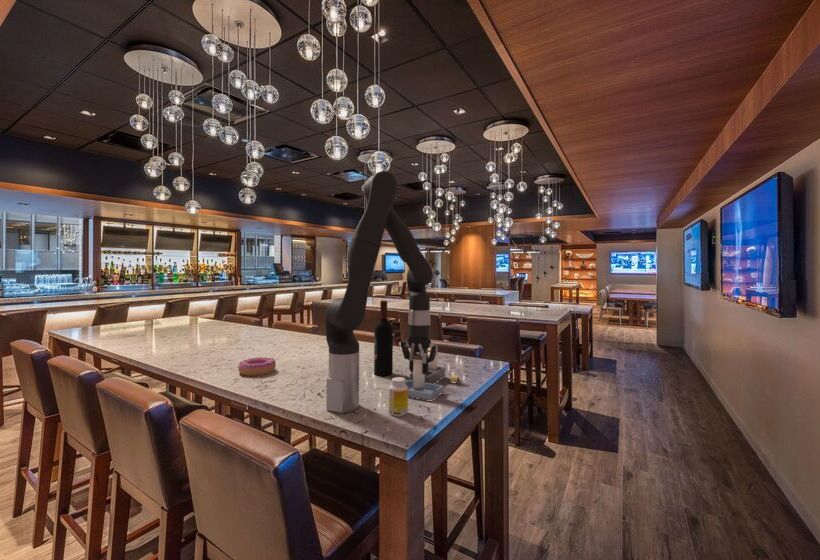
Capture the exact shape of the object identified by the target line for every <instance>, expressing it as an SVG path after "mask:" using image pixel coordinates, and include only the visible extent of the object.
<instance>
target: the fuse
mask: <svg viewBox="0 0 820 560" xmlns="http://www.w3.org/2000/svg"><path fill="white" fill-rule="evenodd" d="M438 350H439V349H438ZM438 350H437V353H436V356H435V358H434V361H431V362H429V367H428V368H429V370H434V371H437V370H438V367H439V363H438V362H439V358H438V357H439V353H438V352H439V351H438ZM430 352H431V350H430V346H429V348H428V353H429V354H428V356H429V355H430Z"/></svg>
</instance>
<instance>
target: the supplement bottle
mask: <svg viewBox="0 0 820 560" xmlns="http://www.w3.org/2000/svg"><path fill="white" fill-rule="evenodd" d="M405 381H406V378H405V377H402V376H398V377H393V378H392V379H391V384H390V385H389V387H388V413H389V415H391V416H392V415H394V416H393V417H403V415H404V416H406V415H407V414H408V412H409V411H408V410H409V409H408V407H409V404H408V403H409V398H408V386H407V385H405ZM405 414H406V415H405Z"/></svg>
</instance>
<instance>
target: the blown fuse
mask: <svg viewBox="0 0 820 560" xmlns="http://www.w3.org/2000/svg"><path fill="white" fill-rule="evenodd" d="M412 373H413V390H415V391H423V390H425V374H423V359H422V357H421V353H418V352H417V353H416V354H414V355H413V372H412Z"/></svg>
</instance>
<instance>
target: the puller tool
mask: <svg viewBox="0 0 820 560" xmlns="http://www.w3.org/2000/svg"><path fill="white" fill-rule="evenodd" d="M451 382H457V383H458V375H457V374H455V375H453V374H451V375H450V383H451Z"/></svg>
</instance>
